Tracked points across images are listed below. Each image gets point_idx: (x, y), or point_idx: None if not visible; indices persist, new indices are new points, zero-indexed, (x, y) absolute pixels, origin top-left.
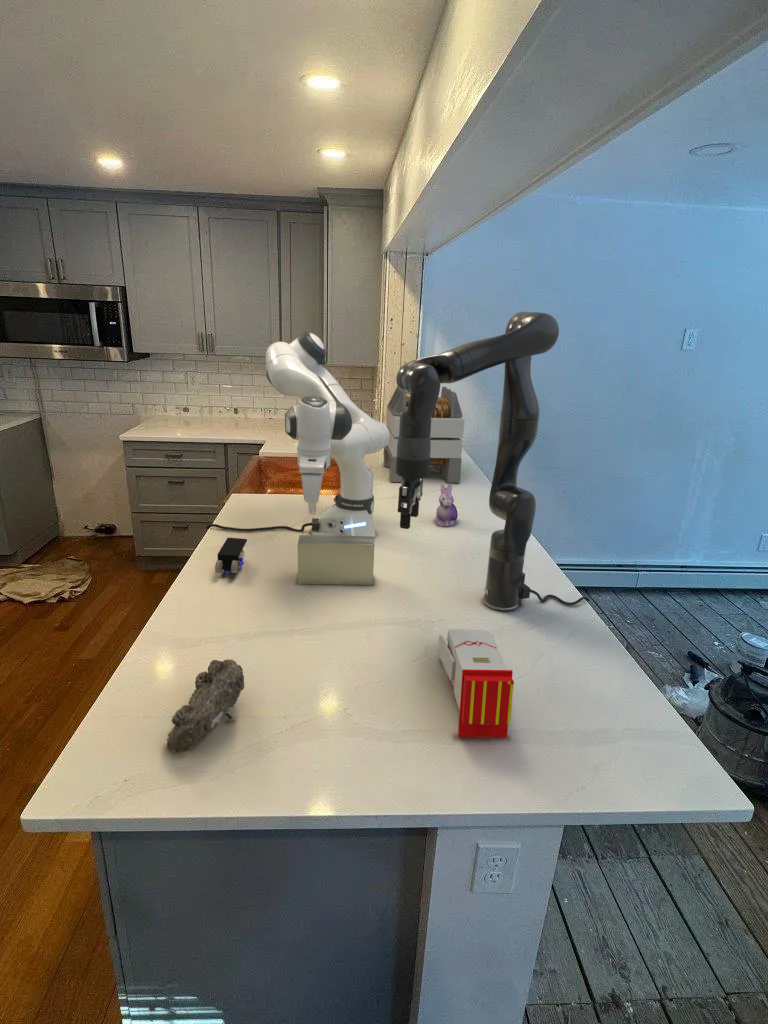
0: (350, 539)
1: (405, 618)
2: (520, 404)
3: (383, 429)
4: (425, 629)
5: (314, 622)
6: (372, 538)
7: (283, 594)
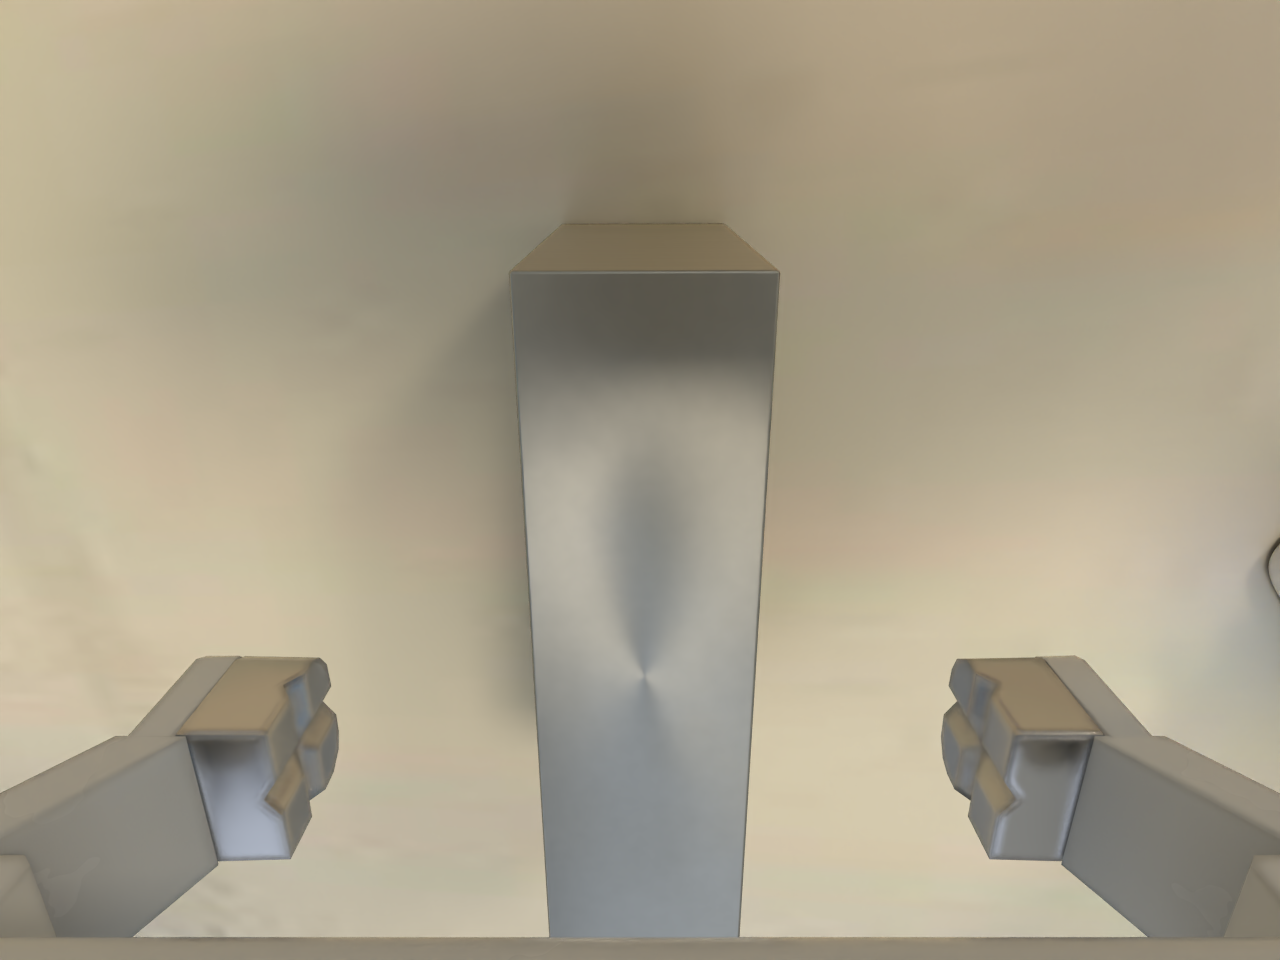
0: (656, 790)
1: None
2: None
3: None
4: None
5: (39, 386)
6: None
7: (375, 124)
